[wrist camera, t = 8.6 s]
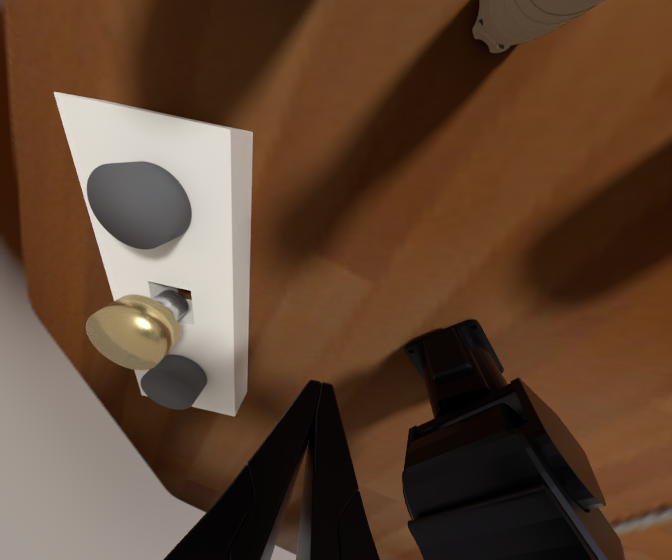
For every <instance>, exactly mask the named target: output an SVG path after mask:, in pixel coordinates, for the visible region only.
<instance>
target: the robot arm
mask: <svg viewBox="0 0 672 560" xmlns="http://www.w3.org/2000/svg"><path fill="white" fill-rule="evenodd" d="M472 325H475V326H473V327H471V326H472ZM410 349H413V350H410ZM405 351H406V354H407V355H408V356H409V358H410V359H411V361H412V362H413V364H414V365H415V366H416V368H417V369H418V371H419V372H420V373H421V375H422V376H423V378H424V379H425V382H426V386H427V391H428V395H429V399H430V403H431V407H432V412H433V416H434V419H433V420H430V421H428V422H426V423H424V424H422V425H420V426H418V427H417V426H414V427H412V428H410V429H409V435H408V442H407V450H406V457H405V464H404V471H403V473H402V482H403V494H404V498H405V503H406V506H407V509H408V512H409V514H410V517H411V519H412V520H410V521H408V528H409V530H410V532H411V534H412V536H413V537H414V539H415V541H416V543H417V545H418V547H419V549H420V551H421V554H422V556H423V558H424V560H625V555H624V551H623V547H622V544H621V541H620V539H619V538H618V536H617V534H616V533H615V531H614V530H613V528H612V527H611V525H610V524H609V523H608V521H607V520H606V518H605V517H604V515H603V514H602V512H601V511H600V510H599V507H603V506H606V503H605V500H604V497H603V495H602V492H601V490H600V488H599V485H598V483H597V480H596V478H595V476H594V473H593V471H592V468H591V466H590V463H589V461H588V459H587V456H586V454H585V452H584V450H583V449H582V447H581V446H580V445H579V443H578V442H577V441H576V439H575V438H574V437H573V435H572V434H571V433H570V431H569V430H568V429H567V427H566V426H565V425H564V423H563V422H562V421H561V419H560V418H559V417H558V416H557V414H556V413H555V412H554V411H553V410H552V409H551V408H550V407H548V406H547V405H546V404H545V403H544V402H543V401H542V400H541V399H540V398H539V397H538V396H537V395H536V394H535V393H534V392H533V391H532V390H531V389H530V388H529V387H528V386H527V385H526V384H525V383H524V382H523V381H522V380H521V379H520V378H517V379H515V380H513V381H511V383H510V384H507V382H506V381H505V379H504V377H503V376H502V374H501V373H503V371H504V369H503V367H502V365H501V363H500V361H499V359H498V358H497V356H496V354H495V352H494V350H493V348H492V346H491V344H490V343H489V341H488V339H487V337H486V335H485V333H484V331H483V329H482V328H481V326H480V324H479V322H478V321H477V320H473V319H472V320H469V321H466V322H464V323H461V324H459V325H456V326H454V327H451V328H449V329H446V330H443V331H441V332H438V333H436V334H433V335H431V336H428V337H426V338H423V339H421V340H418V341H416V342H413V343H411V344H408V345H407V346H406V347H405ZM309 436H310V437H309ZM308 441H309V442H308ZM307 445H308V448H307ZM306 448H307V456H306V466H305V476H304V486H303V496H302V506H301V516H300V526H299V536H298V546H297V556H296V560H380V559H379V556H378V553H377V550H376V547H375V544H374V541H373V538H372V535H371V532H370V529H369V525H368V521H367V518H366V514H365V511H364V507H363V503H362V499H361V495H360V492H359V491H358V489H359V488H358V484H357V480H356V476H355V472H354V468H353V464H352V460H351V456H350V452H349V448H348V444H347V440H346V436H345V432H344V428H343V424H342V420H341V416H340V412H339V408H338V404H337V400H336V396H335V392H334V388H333V385H332V384H329V383H324V382H323V383H321V382H319V381H315V380H310V381H309V382H308V383H307V384H306V386H305V387H304V388H303V390H302V391H301V392H300V394H299V395H298V396H297V398H296V399H295V400H294V402H293V403H292V404H291V406H290V407H289V408H288V410H287V411H286V412H285V414H284V415H283V416H282V418H281V419H280V420H279V422H278V423H277V424H276V426H275V427H274V428H273V430H272V431H271V432H270V434H269V435H268V436H267V438H266V439H265V440H264V441H263V443H262V444H261V445H260V447H259V448H258V449H257V451H256V452H255V453H254V455H253V456H252V457H251V459H250V460H249V461H248V463H247V465H245V466H244V468H243V469H242V470H241V472H240V473H239V474H238V476H237V477H236V478H235V480H234V481H233V482H232V483H231V485H230V486H229V487H228V488H227V490H226V491H225V492H224V493H223V495H222V496H221V497H220V498H219V499H218V500H217V501H216V503H215V504H214V505H213V506H212V507H211V508H210V509H209V511H208V512H207V513H206V514H205V515H204V516H203V517H202V518H201V519H200V521H199V522H198V523H197V524H196V525H195V526H194V527H193V528H192V529H191V530H190V531H189V532H188V534H187V535H186V536H185V537H184V538H183V539H182V540H181V541H180V543H178V544H177V546H176V547H175V548H174V549H173V550H172V551H171V552H170V553H169V554H168V555H167V557H166V558H165V559H164V560H270V559H271V556H272V553H273V550H274V547H275V544H276V541H277V538H278V535H279V531H280V528H281V525H282V522H283V519H284V516H285V513H286V510H287V507H288V504H289V501H290V498H291V495H292V492H293V489H294V486H295V483H296V479H297V476H298V473H299V470H300V467H301V464H302V461H303V458H304V455H305V452H306Z"/></svg>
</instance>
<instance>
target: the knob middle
mask: <svg viewBox="0 0 672 560" xmlns="http://www.w3.org/2000/svg"><path fill="white" fill-rule="evenodd" d="M187 311H188V303H187V301H186V299H185V298H184V297H183V296H182V295H181V294H180V293H178V292H176V291H173V290H164V291H162V292H161V293H159V294H158V295H156V296H155V297H154V298H152V299H151V298H148V297H146V296H142V295H135V294H131V295H125V296H123V297H121V298H119V299H117V300H116V301H114V302H113V303H111V304H109V305H108V306H106V307H104V308H103V309H101V310H99V311H98V312H96V313H95V314H93V315H91V316H90V317H89V318H88V320H87V322H86V332H87V335H88V337H89V339H90V341H91V342H92V344H93V345H94V346H95V347H96V349H97V350H98V351H99V352H100V353H102V354H103V355H104V356H105V357H107V358H108V359H110V360H111V361H113V362H115V363H117V364H119V365H121V366H123V367H126V368H130V369H134V370H148V369H151V368H154V367H155V366H156V365H157V364H158V363H159V362H160V361H161V360H162V359H163V358H164V357H165V356H166V355H167V354H168V353H169V352H170V351H171V350H172V349H173V348H174V347H175V346H176V345H177V344H178V342H179V341H180V338H181V330H180V326H179V324H178V322H177V321H178V320H179V319H180V318H181V317H182V316H183V315H184V314H185V313H186V312H187Z"/></svg>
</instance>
